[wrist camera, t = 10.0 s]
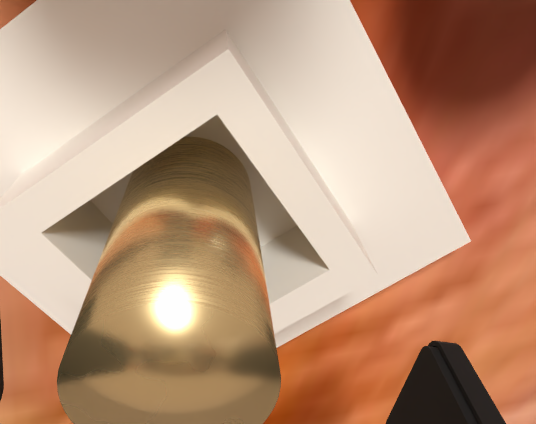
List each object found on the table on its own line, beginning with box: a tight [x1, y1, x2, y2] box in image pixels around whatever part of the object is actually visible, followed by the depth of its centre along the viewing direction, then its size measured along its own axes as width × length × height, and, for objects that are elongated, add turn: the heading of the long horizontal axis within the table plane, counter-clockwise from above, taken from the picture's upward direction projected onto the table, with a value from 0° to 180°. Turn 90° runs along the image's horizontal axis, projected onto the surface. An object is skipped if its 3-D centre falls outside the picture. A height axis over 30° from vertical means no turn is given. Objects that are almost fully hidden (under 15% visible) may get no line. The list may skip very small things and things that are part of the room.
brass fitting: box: [57, 137, 281, 424], centre depth 14 cm, size 4×4×9 cm
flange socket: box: [0, 0, 471, 348], centre depth 17 cm, size 16×16×5 cm
